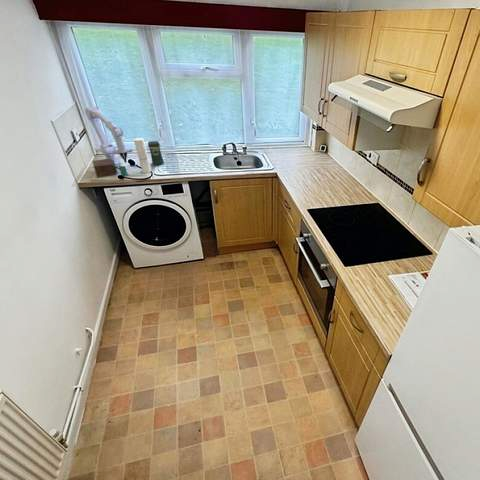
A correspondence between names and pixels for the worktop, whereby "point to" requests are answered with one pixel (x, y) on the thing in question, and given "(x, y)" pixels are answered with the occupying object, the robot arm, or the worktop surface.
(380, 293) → the worktop surface
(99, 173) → the cabinet
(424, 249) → the worktop surface
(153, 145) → the coffee jar
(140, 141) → the cylindrical container
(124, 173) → the scoop
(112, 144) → the robot arm
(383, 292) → the worktop surface
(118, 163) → the drawer
